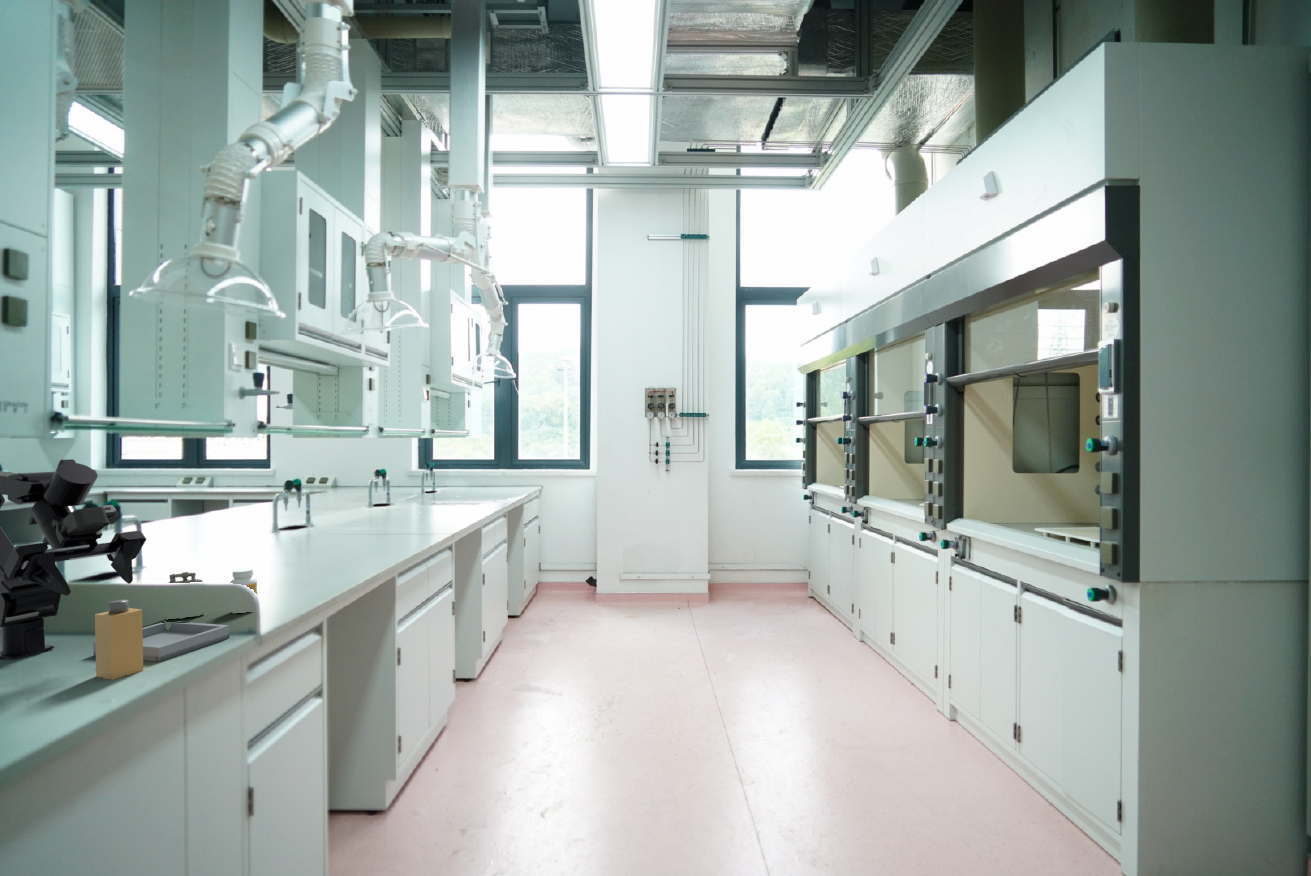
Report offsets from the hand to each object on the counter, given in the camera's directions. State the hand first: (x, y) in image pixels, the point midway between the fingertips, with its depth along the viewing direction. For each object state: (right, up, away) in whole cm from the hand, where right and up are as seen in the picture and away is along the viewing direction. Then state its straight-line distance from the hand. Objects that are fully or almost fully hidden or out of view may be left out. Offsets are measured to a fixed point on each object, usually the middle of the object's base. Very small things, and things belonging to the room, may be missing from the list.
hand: (100, 587), depth 112 cm
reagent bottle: (+5, -14, -2) cm, 15 cm away
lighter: (-9, -15, +33) cm, 37 cm away
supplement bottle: (+1, -14, +37) cm, 40 cm away
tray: (+2, -14, +12) cm, 19 cm away
